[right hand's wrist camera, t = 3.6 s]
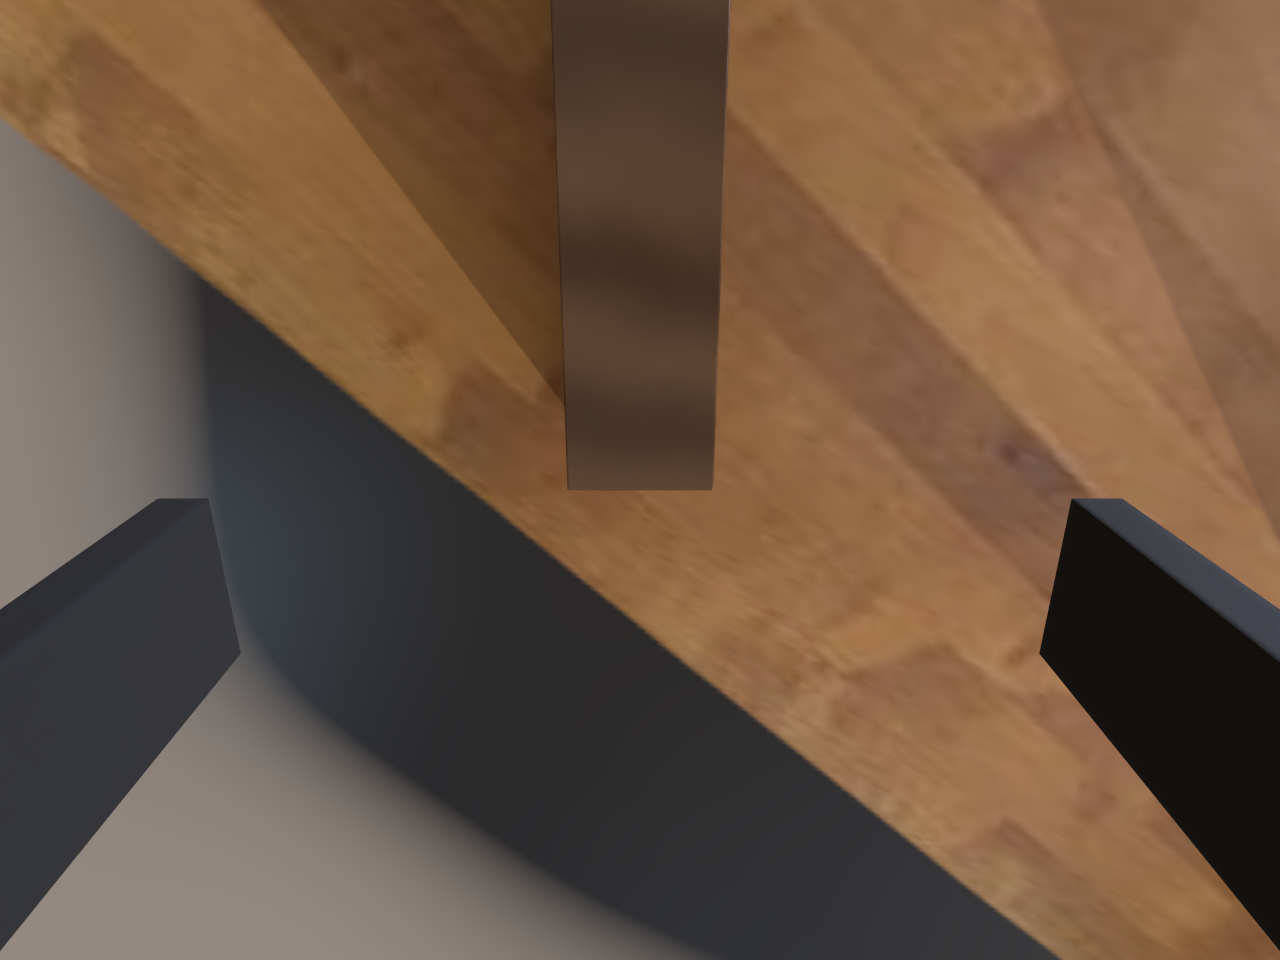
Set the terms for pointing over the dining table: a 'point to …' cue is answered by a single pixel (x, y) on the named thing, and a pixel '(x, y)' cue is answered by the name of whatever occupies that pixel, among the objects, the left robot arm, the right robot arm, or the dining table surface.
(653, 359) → the bar
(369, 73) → the dining table surface
